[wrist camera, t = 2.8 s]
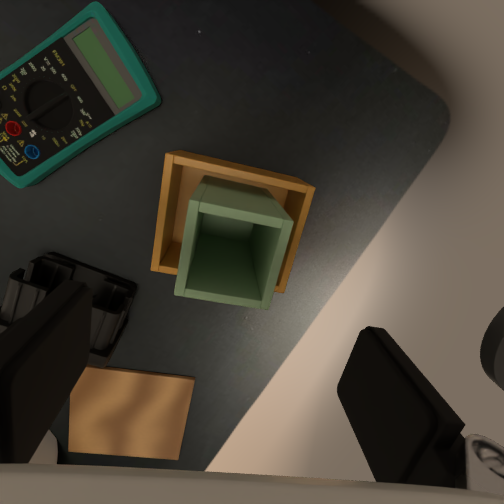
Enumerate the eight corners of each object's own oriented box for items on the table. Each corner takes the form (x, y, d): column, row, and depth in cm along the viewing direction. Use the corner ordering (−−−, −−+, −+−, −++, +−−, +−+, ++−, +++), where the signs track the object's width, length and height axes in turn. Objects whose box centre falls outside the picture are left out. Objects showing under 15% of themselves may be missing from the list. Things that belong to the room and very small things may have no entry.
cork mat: (195, 377, 36) (194, 380, 36) (178, 456, 41) (178, 460, 40) (73, 362, 34) (70, 365, 34) (70, 447, 39) (68, 451, 38)
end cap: (27, 306, 31) (-24, 348, 25) (43, 248, 29) (-8, 278, 23) (121, 337, 33) (97, 383, 27) (143, 285, 31) (122, 322, 25)
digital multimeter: (-36, 112, 25) (-69, 108, 22) (111, 9, 23) (95, -9, 20) (30, 189, 27) (8, 195, 24) (167, 102, 25) (160, 98, 23)
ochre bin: (296, 177, 29) (315, 187, 22) (272, 263, 32) (284, 293, 25) (179, 149, 27) (165, 152, 21) (166, 243, 30) (150, 270, 24)
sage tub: (267, 188, 28) (294, 221, 17) (253, 247, 30) (268, 310, 19) (204, 174, 27) (188, 199, 16) (193, 235, 29) (173, 295, 18)
